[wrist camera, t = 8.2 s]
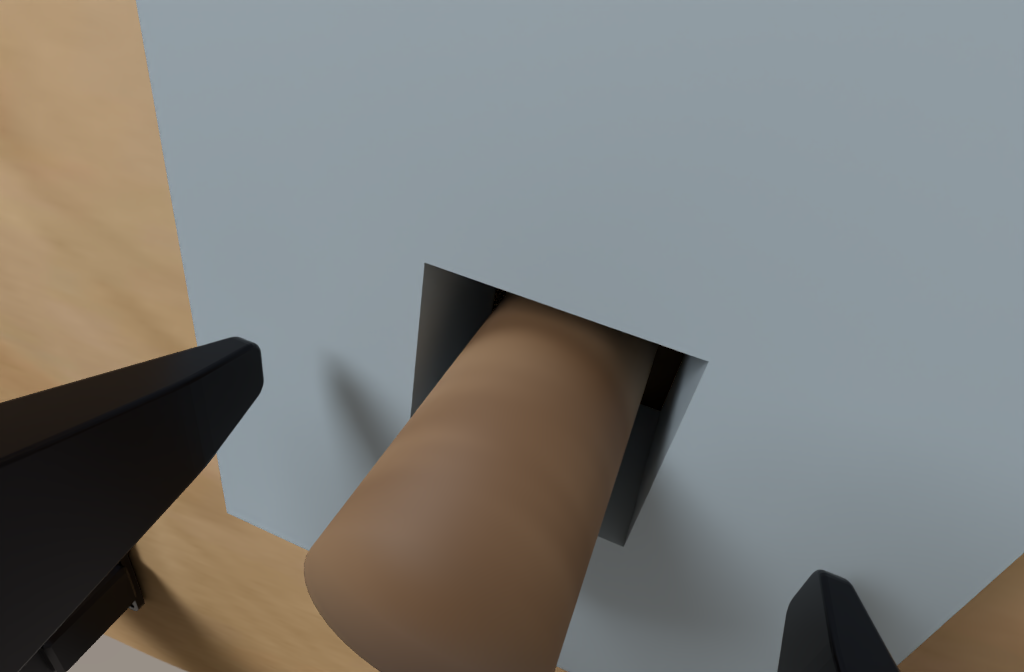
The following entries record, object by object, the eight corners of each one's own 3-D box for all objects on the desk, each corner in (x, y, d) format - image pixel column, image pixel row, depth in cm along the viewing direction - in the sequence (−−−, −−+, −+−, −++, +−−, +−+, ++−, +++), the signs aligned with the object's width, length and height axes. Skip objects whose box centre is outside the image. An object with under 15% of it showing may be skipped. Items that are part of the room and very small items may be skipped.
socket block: (319, 415, 19) (227, 512, 16) (302, -168, 11) (99, -201, 8) (782, 607, 16) (780, 770, 13) (1241, 33, 8) (1525, 104, 5)
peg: (512, 336, 15) (308, 638, 9) (537, 213, 13) (298, 489, 7) (642, 383, 14) (524, 746, 8) (689, 262, 12) (581, 614, 6)
